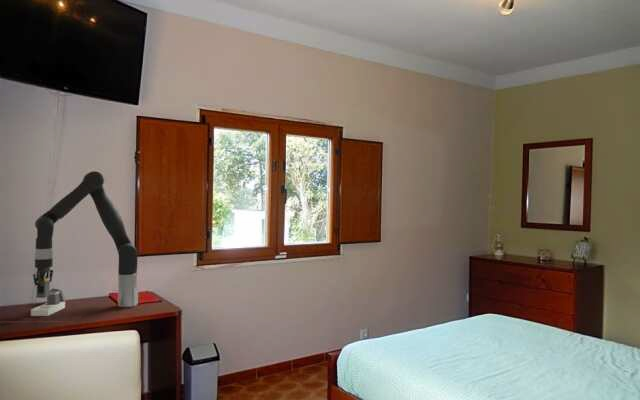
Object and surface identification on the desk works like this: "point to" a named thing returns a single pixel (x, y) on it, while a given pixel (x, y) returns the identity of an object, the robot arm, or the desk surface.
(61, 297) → the electrical switch
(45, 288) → the plug
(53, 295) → the twin plug
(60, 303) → the power strip
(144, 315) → the desk surface
